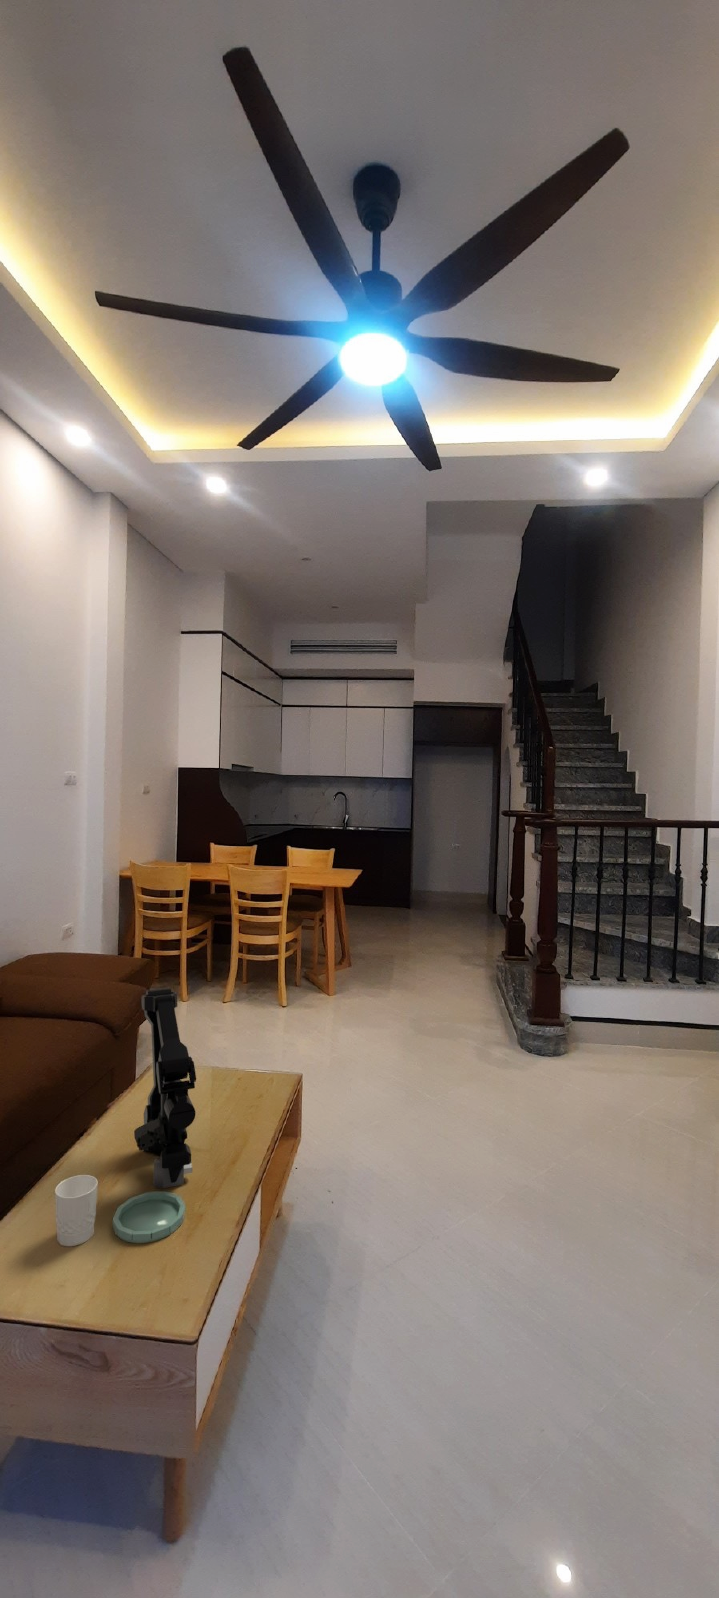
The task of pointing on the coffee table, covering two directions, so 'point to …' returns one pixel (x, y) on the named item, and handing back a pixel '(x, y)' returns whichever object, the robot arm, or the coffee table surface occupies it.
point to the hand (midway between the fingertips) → (172, 1177)
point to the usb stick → (168, 1175)
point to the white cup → (75, 1209)
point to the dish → (149, 1217)
